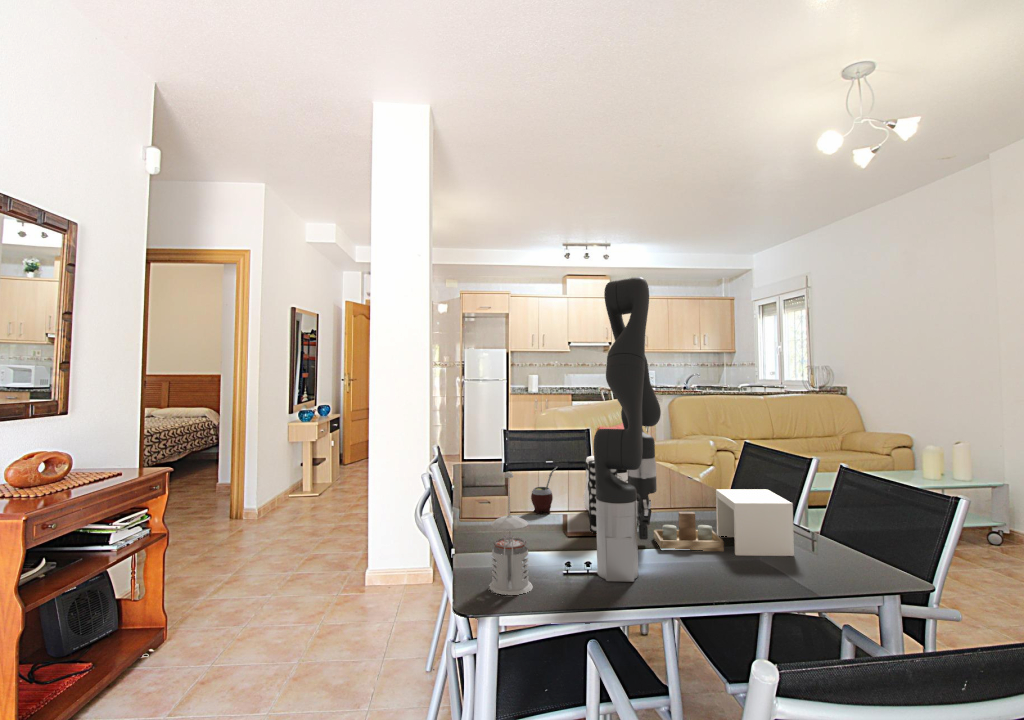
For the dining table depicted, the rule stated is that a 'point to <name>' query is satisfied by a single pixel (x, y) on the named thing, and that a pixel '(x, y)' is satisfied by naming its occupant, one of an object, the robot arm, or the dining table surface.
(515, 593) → the french press
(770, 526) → the white open block
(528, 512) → the dining table surface
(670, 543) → the tray
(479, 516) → the dining table surface
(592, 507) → the white-spotted black cylinder
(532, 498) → the mate gourd
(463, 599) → the dining table surface
